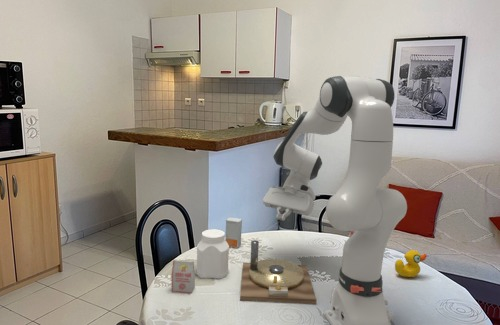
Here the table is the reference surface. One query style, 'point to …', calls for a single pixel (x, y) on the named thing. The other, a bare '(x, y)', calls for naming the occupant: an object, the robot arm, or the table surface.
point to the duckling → (410, 264)
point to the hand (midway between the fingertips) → (279, 219)
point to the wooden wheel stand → (277, 290)
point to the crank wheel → (273, 271)
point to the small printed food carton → (183, 276)
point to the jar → (212, 255)
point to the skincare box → (233, 232)
